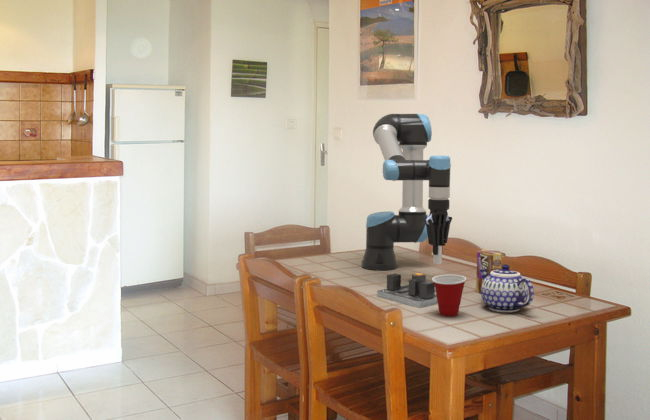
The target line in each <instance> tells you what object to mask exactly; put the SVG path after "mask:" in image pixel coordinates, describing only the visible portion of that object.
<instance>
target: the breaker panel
mask: <svg viewBox="0 0 650 420" xmlns="http://www.w3.org/2000/svg"><path fill="white" fill-rule="evenodd" d="M376 296H377V297H378V298H382V299H386V300H389V301H394V302H397V303H401V304H405V305H408V306H412V307H416V308H419V309H420V308H425V307H428V306H433V305H434V306H435V305H438V302H437V295H436V288H435V285H434V282H433V281H429V280H428V281H427V280H426V282H423V280H421V279H412V278H411V279H408V284H405V285H402V275H401V274H397V273H391V274H390V273H389V274H387V275H386V288H384V289H380V290H377V291H376Z"/></svg>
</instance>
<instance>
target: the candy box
mask: <svg viewBox="0 0 650 420" xmlns="http://www.w3.org/2000/svg"><path fill="white" fill-rule="evenodd" d="M476 254H477V257H476V275H475V276H476V278H475V279H476V280H475V281H476V282H475V292H477V293H479V294H481V287H482V274H481V272H480V270H479V269H487V271H488V274H490V273H491V271H494V270H500V269H502V257H503V256H502V255H503V254H502V253H500V252H495V251H491V250H487V249H481V250H480V249H479V250H477V253H476Z"/></svg>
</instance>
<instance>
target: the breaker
mask: <svg viewBox="0 0 650 420" xmlns="http://www.w3.org/2000/svg"><path fill="white" fill-rule="evenodd" d="M412 279H421V280H423V282H426V281H427V280H426V279H427V276H426V274H425V273H421V272H416V273H415V272H414V273H413V274H411V280H412Z"/></svg>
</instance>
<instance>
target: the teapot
mask: <svg viewBox="0 0 650 420" xmlns="http://www.w3.org/2000/svg"><path fill="white" fill-rule="evenodd" d="M510 267H511V266H510V265H509V264H507V263H504V264H501V269H500V270H494V271H491V273H490V274H488V271H487V269H479V270H480V272H481V274H482V287H481V293H480V296H481V299H482V302H483V303H484V304H485V305H486V306H488V309H489V310H491V311H492V312H497V313H515V312H518V311H520V309H521V308H524V307H528V306H529V305H531V304H532V303H533V300H534V296H535V292H534V286H533V283H532V282H531V279H529V278H524V277H523V276H521V273H520V272H518V271H514V270H511V269H510Z"/></svg>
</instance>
